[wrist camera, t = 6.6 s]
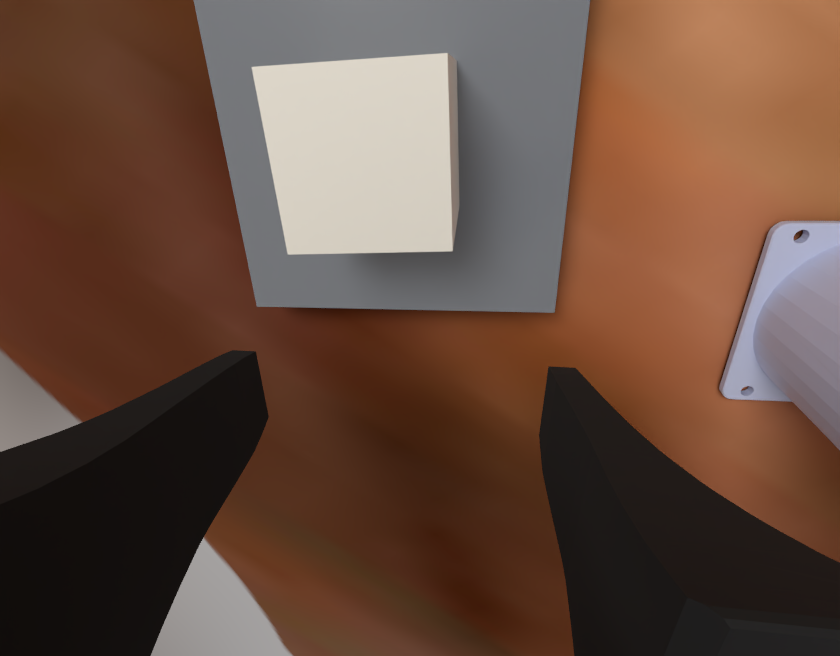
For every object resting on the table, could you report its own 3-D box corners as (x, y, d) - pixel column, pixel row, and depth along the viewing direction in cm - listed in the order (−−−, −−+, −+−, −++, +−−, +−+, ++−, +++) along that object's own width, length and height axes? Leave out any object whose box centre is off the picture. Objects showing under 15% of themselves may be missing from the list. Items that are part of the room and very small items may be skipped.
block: (456, 60, 15) (447, 52, 10) (459, 205, 17) (452, 251, 12) (316, 69, 15) (251, 67, 11) (336, 209, 17) (287, 254, 13)
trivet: (583, -67, 15) (600, -91, 13) (546, 288, 20) (554, 312, 18) (219, -43, 16) (181, -62, 14) (278, 284, 22) (257, 306, 20)
